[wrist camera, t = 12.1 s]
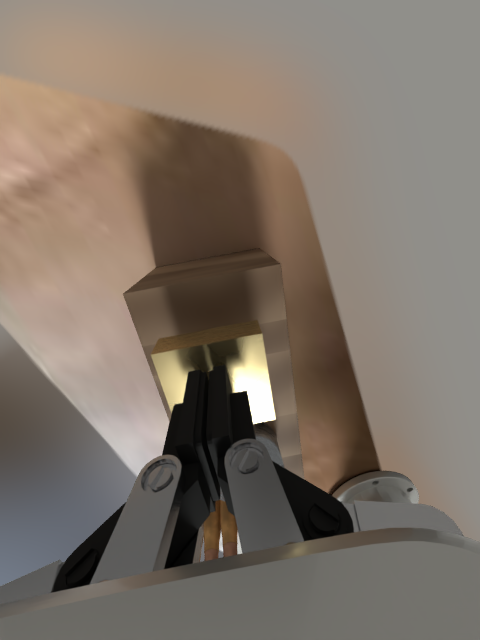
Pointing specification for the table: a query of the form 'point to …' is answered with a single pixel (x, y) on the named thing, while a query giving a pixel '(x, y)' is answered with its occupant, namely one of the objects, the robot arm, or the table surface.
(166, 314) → the block
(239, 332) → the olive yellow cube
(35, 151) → the table surface
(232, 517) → the ammunition clip
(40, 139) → the table surface
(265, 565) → the robot arm
